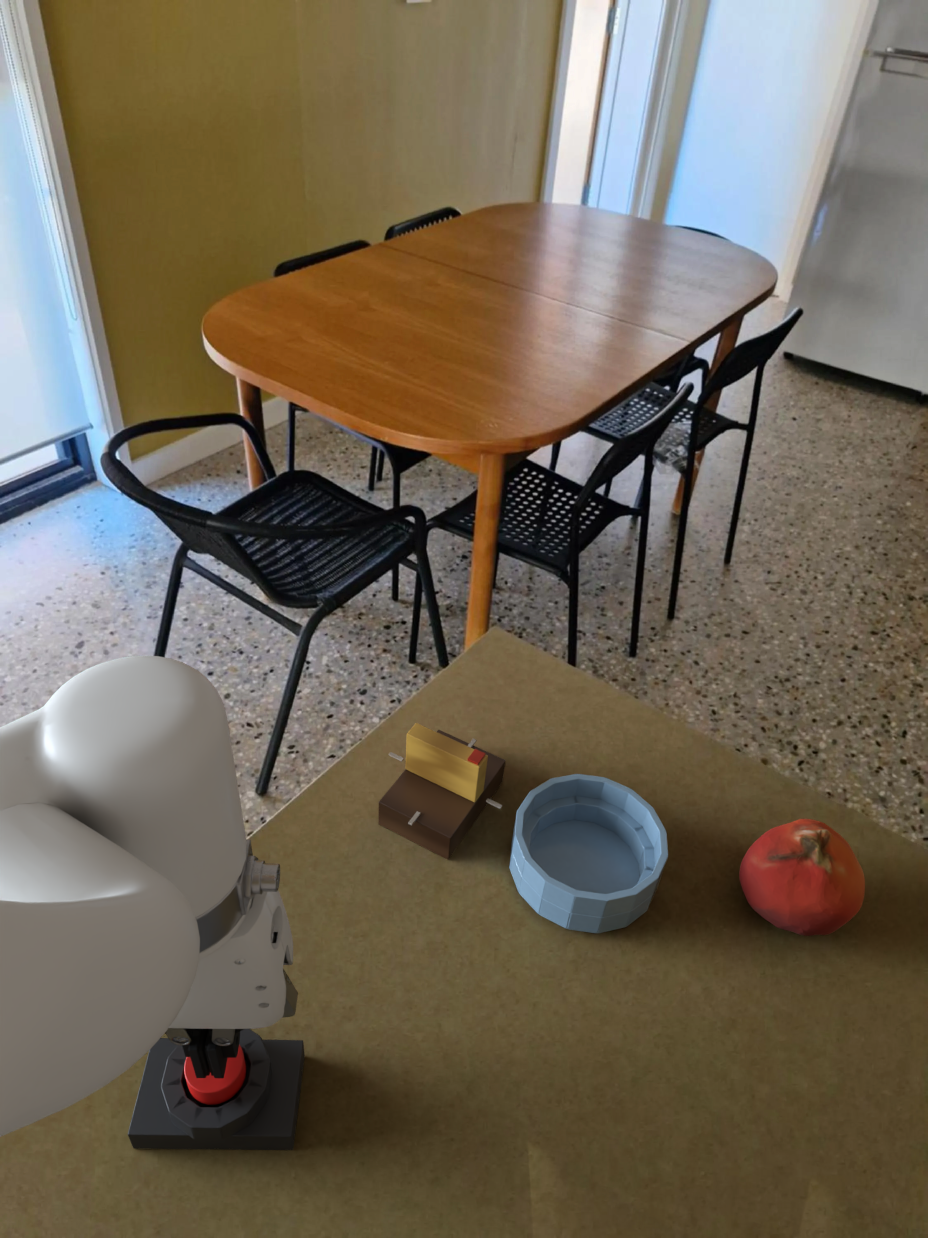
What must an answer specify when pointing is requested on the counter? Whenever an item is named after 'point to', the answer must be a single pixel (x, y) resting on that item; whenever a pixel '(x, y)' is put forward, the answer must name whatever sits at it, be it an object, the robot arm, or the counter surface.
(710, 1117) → the counter surface
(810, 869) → the tomato
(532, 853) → the basin
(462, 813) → the base
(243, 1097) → the button box
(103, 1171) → the counter surface
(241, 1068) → the button
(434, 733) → the yellow block red tip
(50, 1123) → the counter surface
